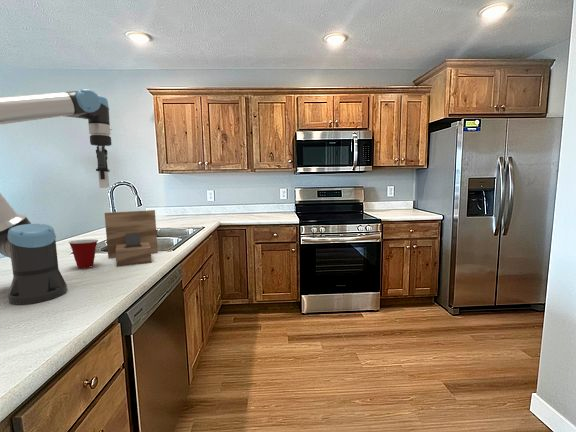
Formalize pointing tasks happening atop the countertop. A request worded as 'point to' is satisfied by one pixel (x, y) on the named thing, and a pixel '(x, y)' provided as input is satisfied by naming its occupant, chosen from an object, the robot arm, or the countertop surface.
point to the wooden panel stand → (131, 223)
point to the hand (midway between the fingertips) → (104, 187)
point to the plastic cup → (84, 252)
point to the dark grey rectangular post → (132, 240)
